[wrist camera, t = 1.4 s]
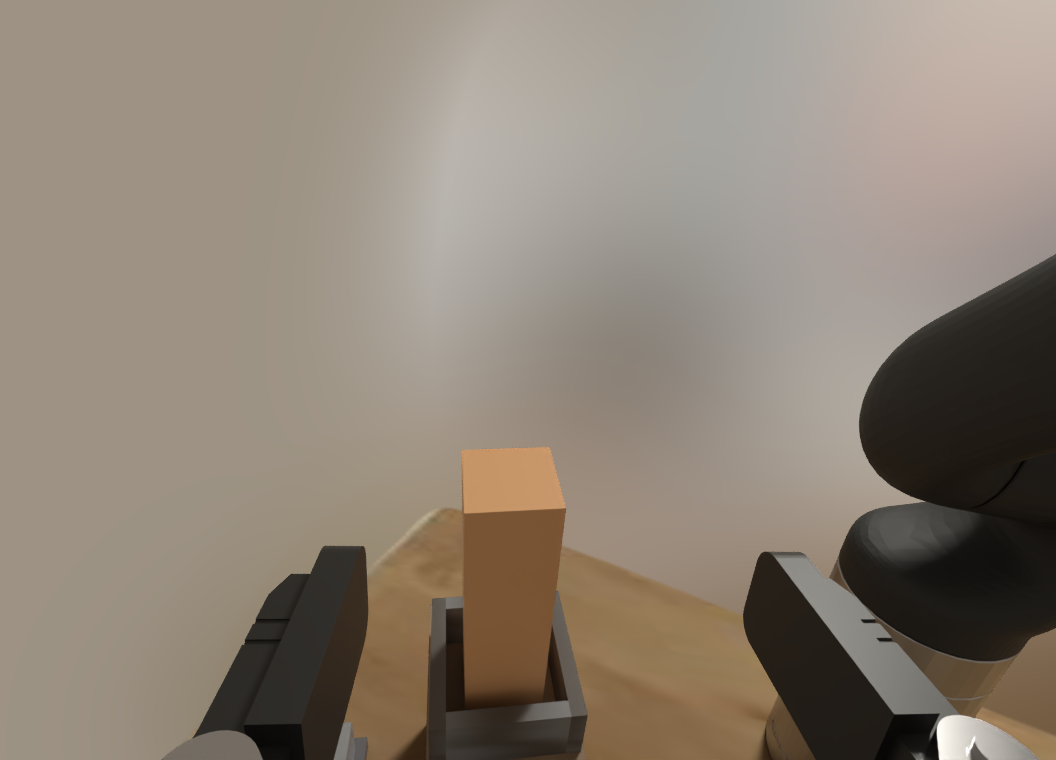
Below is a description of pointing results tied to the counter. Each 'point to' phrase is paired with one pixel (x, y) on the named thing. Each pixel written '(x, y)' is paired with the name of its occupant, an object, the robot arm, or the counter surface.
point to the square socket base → (503, 732)
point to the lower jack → (350, 745)
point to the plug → (509, 573)
